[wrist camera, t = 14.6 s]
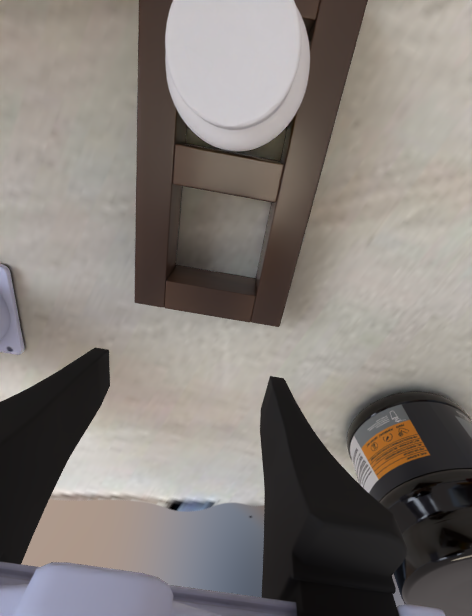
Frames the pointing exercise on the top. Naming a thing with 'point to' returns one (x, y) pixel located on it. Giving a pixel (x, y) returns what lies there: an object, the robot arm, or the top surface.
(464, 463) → the supplement container
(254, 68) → the supplement bottle
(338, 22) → the hole block
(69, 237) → the top surface
